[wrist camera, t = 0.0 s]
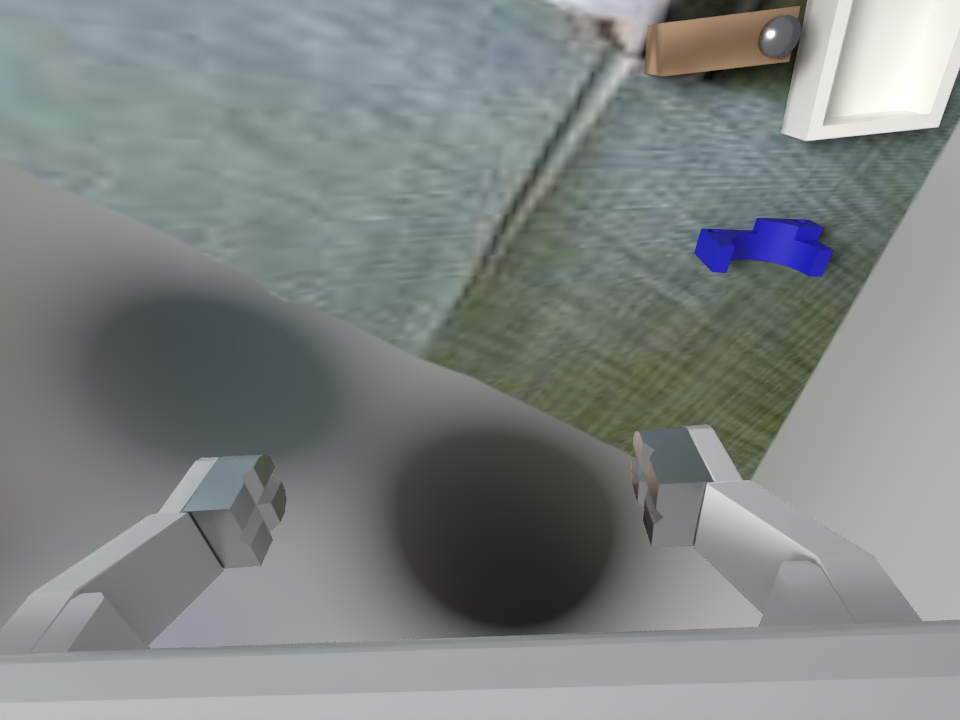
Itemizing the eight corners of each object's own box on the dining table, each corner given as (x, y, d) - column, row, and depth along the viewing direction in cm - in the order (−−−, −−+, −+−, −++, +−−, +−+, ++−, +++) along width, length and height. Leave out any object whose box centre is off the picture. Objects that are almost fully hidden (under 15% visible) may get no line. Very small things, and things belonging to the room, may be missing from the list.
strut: (647, 25, 47) (669, 22, 41) (766, 10, 46) (806, 5, 41) (644, 73, 49) (664, 77, 44) (758, 59, 49) (795, 62, 43)
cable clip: (808, 219, 57) (839, 236, 52) (793, 256, 59) (821, 276, 54) (704, 215, 57) (725, 231, 52) (693, 252, 59) (712, 272, 54)
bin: (827, -95, 42) (863, -111, 38) (976, -116, 41) (1031, -134, 37) (780, 133, 52) (806, 141, 48) (901, 120, 51) (938, 127, 47)
